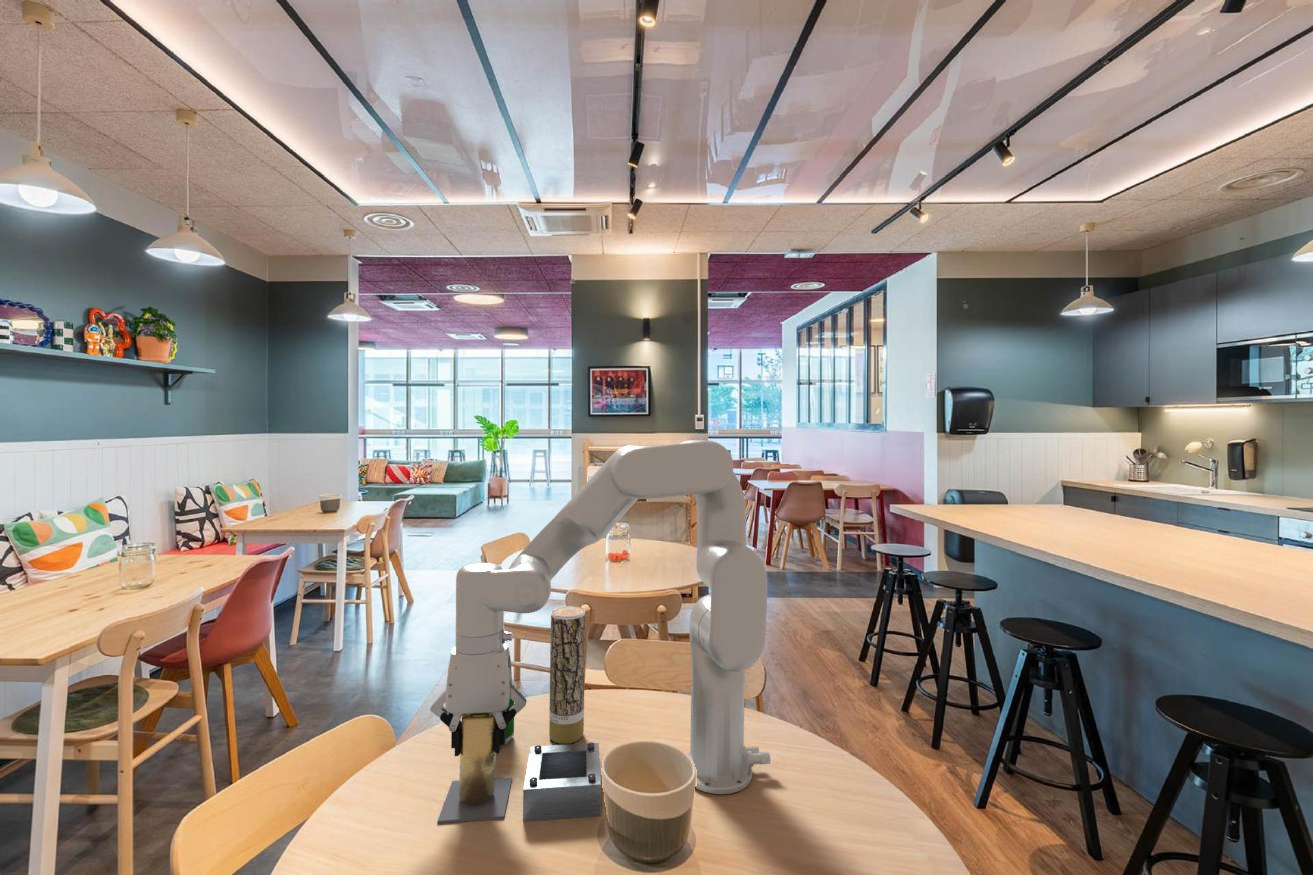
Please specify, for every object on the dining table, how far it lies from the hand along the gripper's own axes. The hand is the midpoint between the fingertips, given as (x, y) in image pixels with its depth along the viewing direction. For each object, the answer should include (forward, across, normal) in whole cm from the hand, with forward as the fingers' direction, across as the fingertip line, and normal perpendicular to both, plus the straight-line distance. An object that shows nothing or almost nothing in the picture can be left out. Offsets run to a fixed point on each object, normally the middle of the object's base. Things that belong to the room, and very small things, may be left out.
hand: (478, 749), depth 92 cm
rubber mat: (+8, 0, 0) cm, 8 cm away
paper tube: (+9, -14, -18) cm, 24 cm away
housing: (+8, -14, 0) cm, 16 cm away
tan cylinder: (+7, 0, 0) cm, 7 cm away
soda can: (+9, 0, -18) cm, 20 cm away
